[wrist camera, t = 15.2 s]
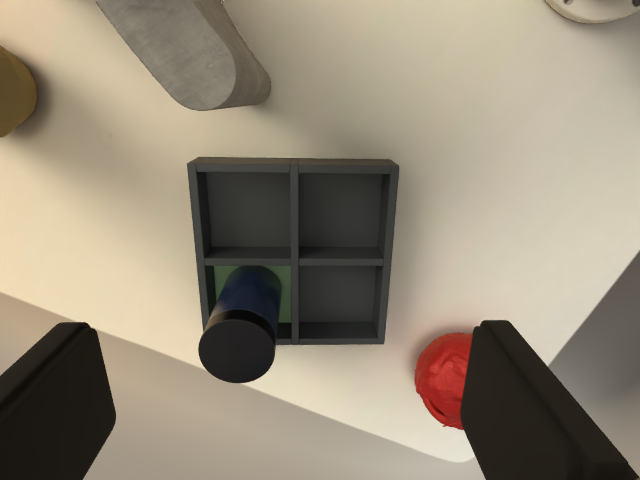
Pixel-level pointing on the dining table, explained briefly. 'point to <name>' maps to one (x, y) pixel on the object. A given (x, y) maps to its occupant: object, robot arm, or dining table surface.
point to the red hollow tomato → (444, 377)
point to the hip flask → (191, 51)
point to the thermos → (243, 326)
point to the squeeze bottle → (15, 92)
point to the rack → (300, 239)
